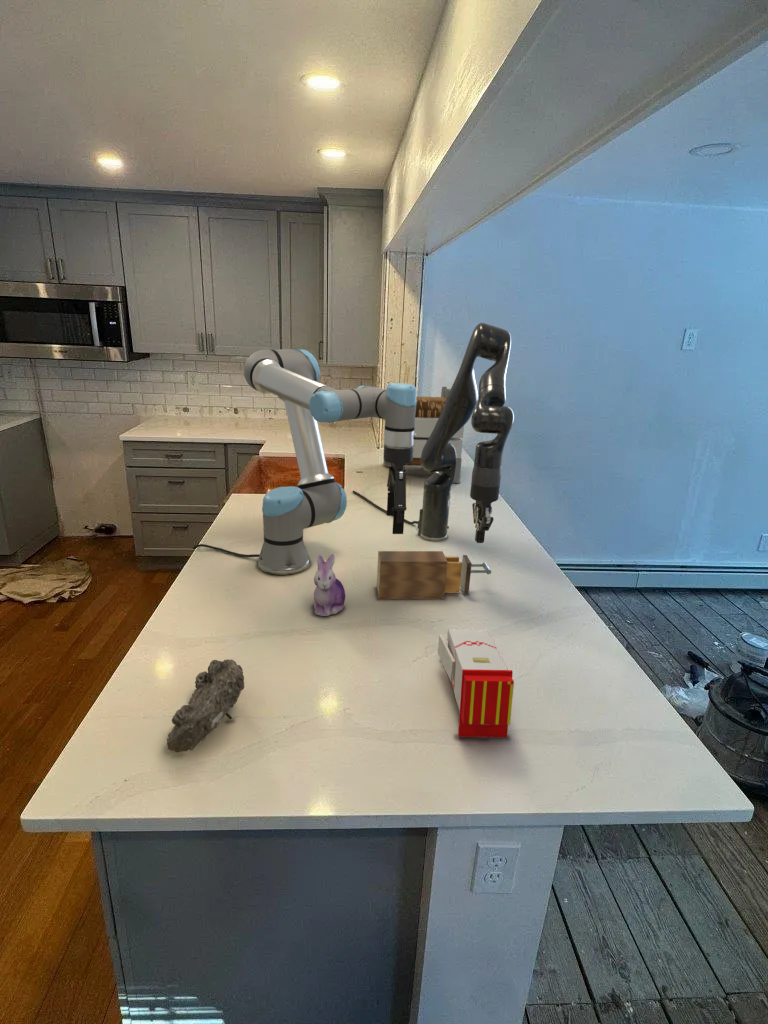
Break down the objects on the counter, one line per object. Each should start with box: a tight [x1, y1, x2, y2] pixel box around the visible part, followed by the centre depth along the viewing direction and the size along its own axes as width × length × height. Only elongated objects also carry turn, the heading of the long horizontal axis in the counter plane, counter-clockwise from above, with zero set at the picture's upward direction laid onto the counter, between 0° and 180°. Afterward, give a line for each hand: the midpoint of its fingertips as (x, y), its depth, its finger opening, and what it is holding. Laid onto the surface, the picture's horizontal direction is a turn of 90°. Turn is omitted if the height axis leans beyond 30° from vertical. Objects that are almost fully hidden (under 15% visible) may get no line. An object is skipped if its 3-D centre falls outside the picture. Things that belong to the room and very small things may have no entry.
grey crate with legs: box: [383, 386, 465, 484], centre depth 268 cm, size 34×33×41 cm
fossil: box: [166, 658, 245, 754], centre depth 106 cm, size 22×10×15 cm
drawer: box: [445, 554, 492, 596], centre depth 158 cm, size 23×6×10 cm, turn 96°
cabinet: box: [376, 550, 448, 600], centre depth 157 cm, size 18×7×11 cm, turn 96°
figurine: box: [313, 553, 346, 617], centre depth 146 cm, size 9×10×15 cm
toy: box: [437, 628, 515, 738], centre depth 117 cm, size 12×13×30 cm
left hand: (394, 524), depth 151 cm, fingers open, 13 cm apart
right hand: (479, 542), depth 155 cm, fingers closed
